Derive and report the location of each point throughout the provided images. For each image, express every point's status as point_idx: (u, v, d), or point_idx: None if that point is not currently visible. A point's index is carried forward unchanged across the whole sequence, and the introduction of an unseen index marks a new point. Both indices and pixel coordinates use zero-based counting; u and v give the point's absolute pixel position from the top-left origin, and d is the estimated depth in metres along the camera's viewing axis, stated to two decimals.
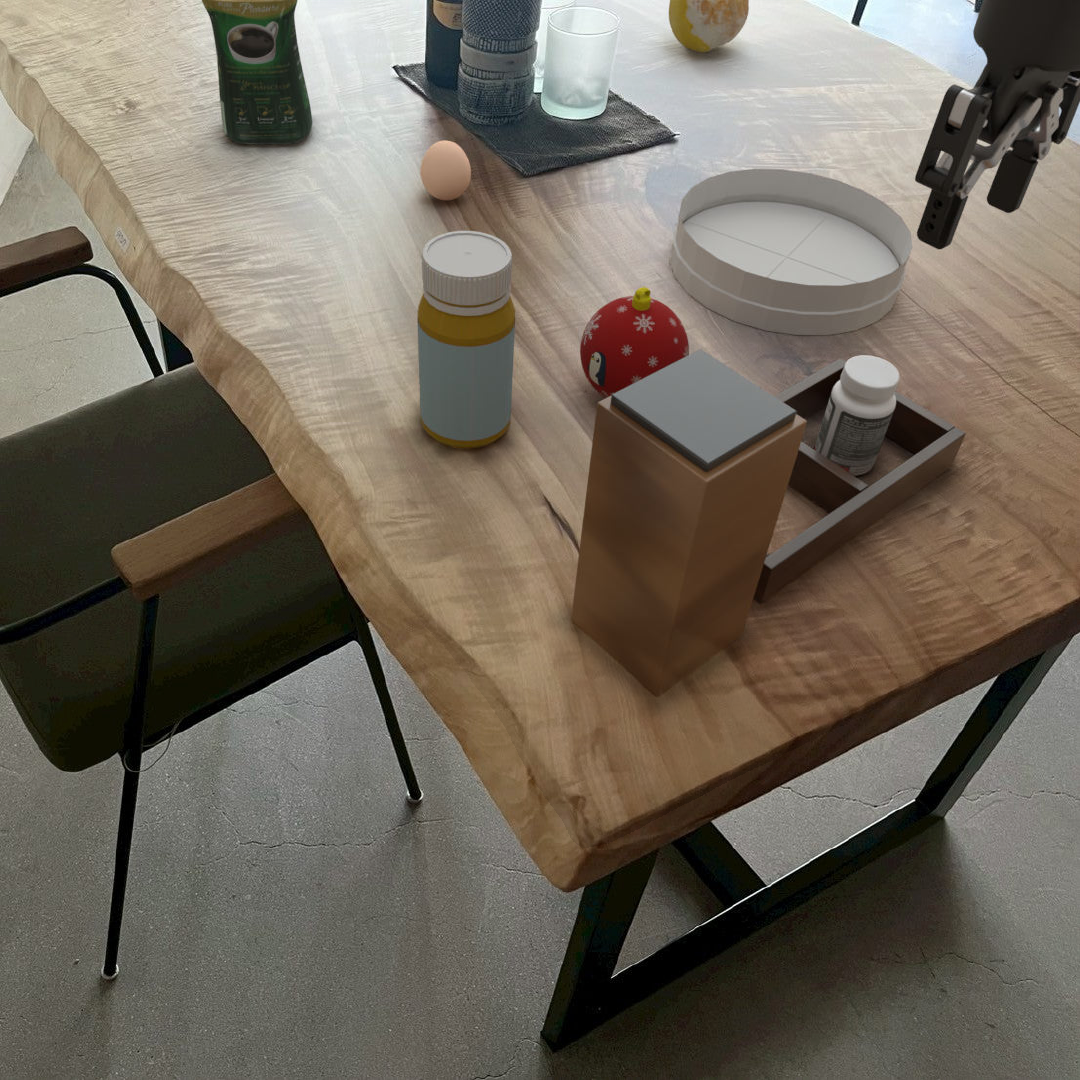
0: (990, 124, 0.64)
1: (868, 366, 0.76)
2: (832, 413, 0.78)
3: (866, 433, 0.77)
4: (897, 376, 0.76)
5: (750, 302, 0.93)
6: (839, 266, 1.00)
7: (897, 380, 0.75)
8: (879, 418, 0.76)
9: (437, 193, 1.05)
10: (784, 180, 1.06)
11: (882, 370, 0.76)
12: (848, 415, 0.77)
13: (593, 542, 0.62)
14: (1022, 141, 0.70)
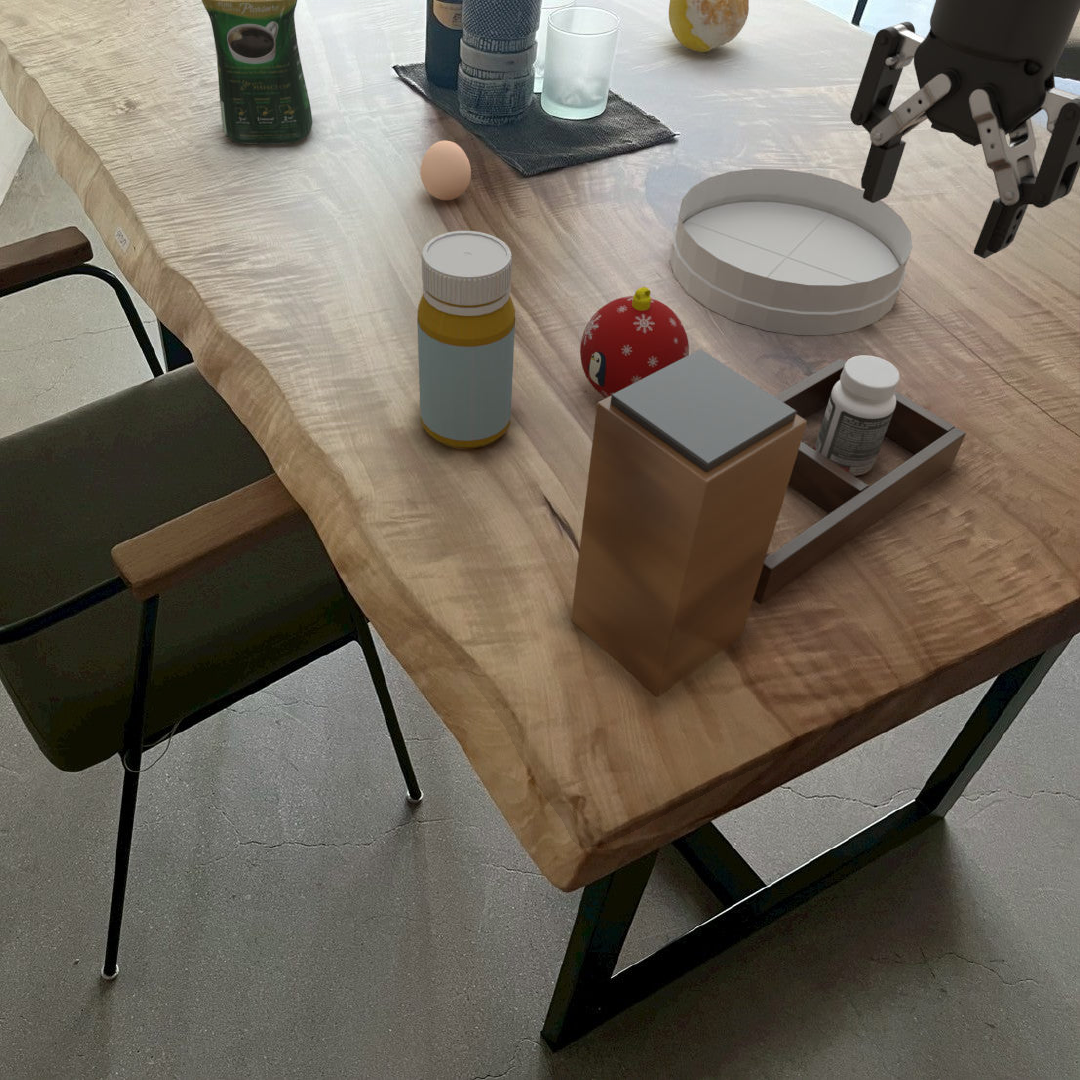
0: None
1: (868, 366, 0.76)
2: (832, 413, 0.78)
3: (866, 433, 0.77)
4: (897, 376, 0.76)
5: (750, 302, 0.93)
6: (839, 266, 1.00)
7: (897, 380, 0.75)
8: (879, 418, 0.76)
9: (437, 193, 1.05)
10: (784, 180, 1.06)
11: (882, 370, 0.76)
12: (848, 415, 0.77)
13: (593, 542, 0.62)
14: None
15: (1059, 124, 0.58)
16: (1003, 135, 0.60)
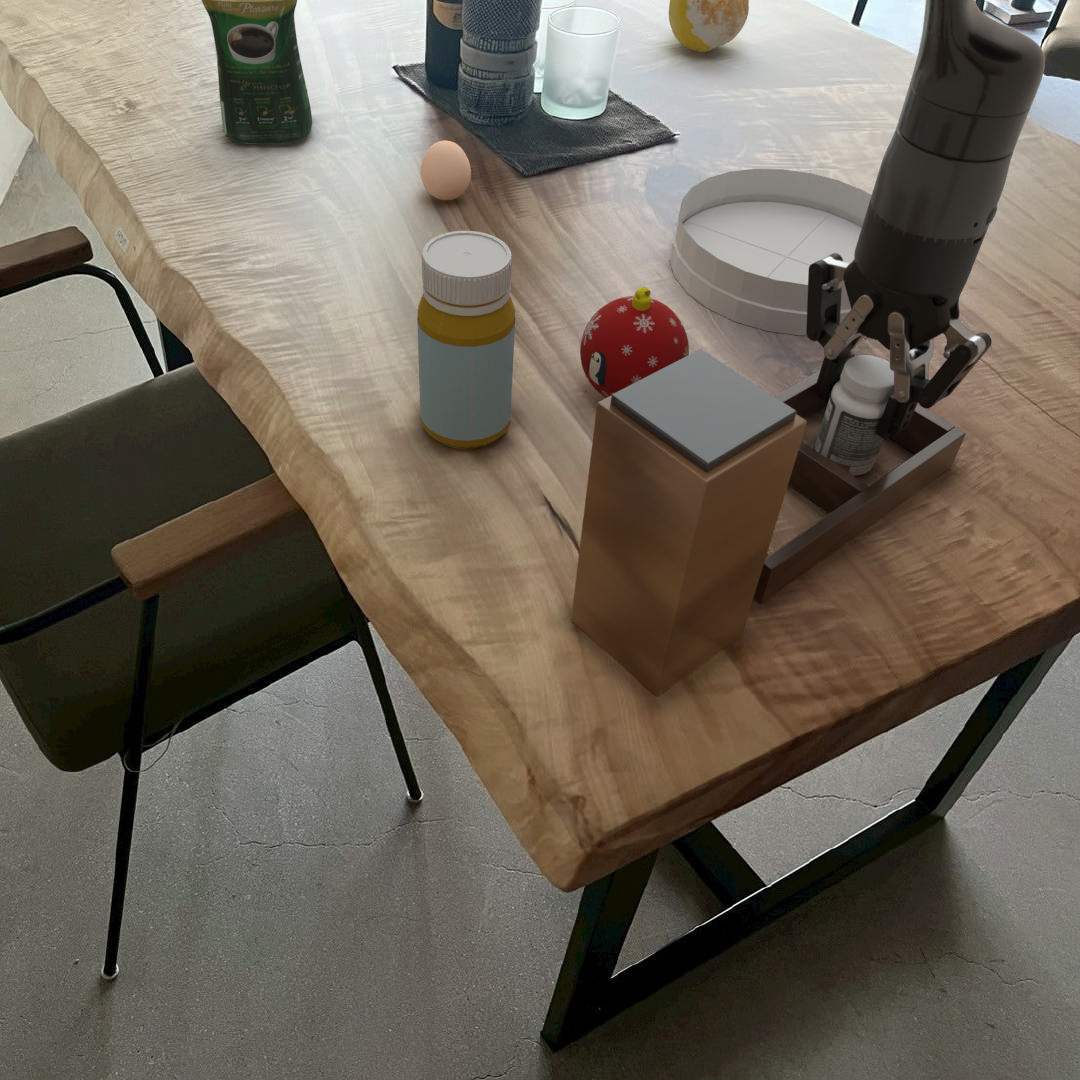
0: None
1: (868, 366, 0.76)
2: (832, 413, 0.78)
3: (866, 433, 0.77)
4: None
5: (750, 302, 0.93)
6: None
7: None
8: (879, 418, 0.76)
9: (437, 193, 1.05)
10: (784, 180, 1.06)
11: (882, 370, 0.76)
12: (848, 415, 0.77)
13: (593, 542, 0.62)
14: None
15: (953, 356, 0.69)
16: (908, 352, 0.71)
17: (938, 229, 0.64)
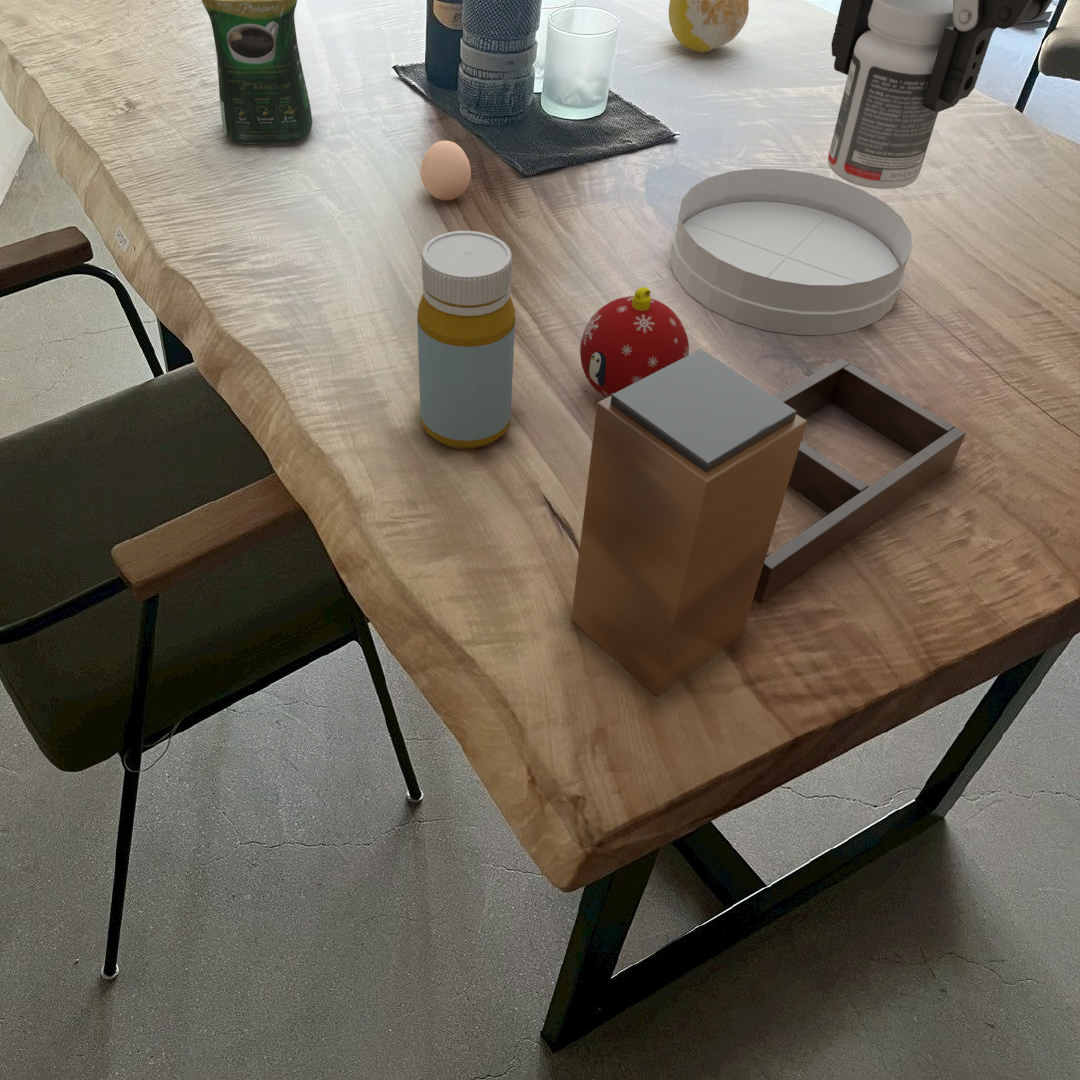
0: None
1: None
2: (855, 78, 0.51)
3: (908, 103, 0.50)
4: None
5: (750, 302, 0.93)
6: (839, 266, 1.00)
7: None
8: (929, 75, 0.49)
9: (437, 193, 1.05)
10: (784, 180, 1.06)
11: None
12: (881, 71, 0.49)
13: (593, 542, 0.62)
14: None
15: None
16: None
17: None
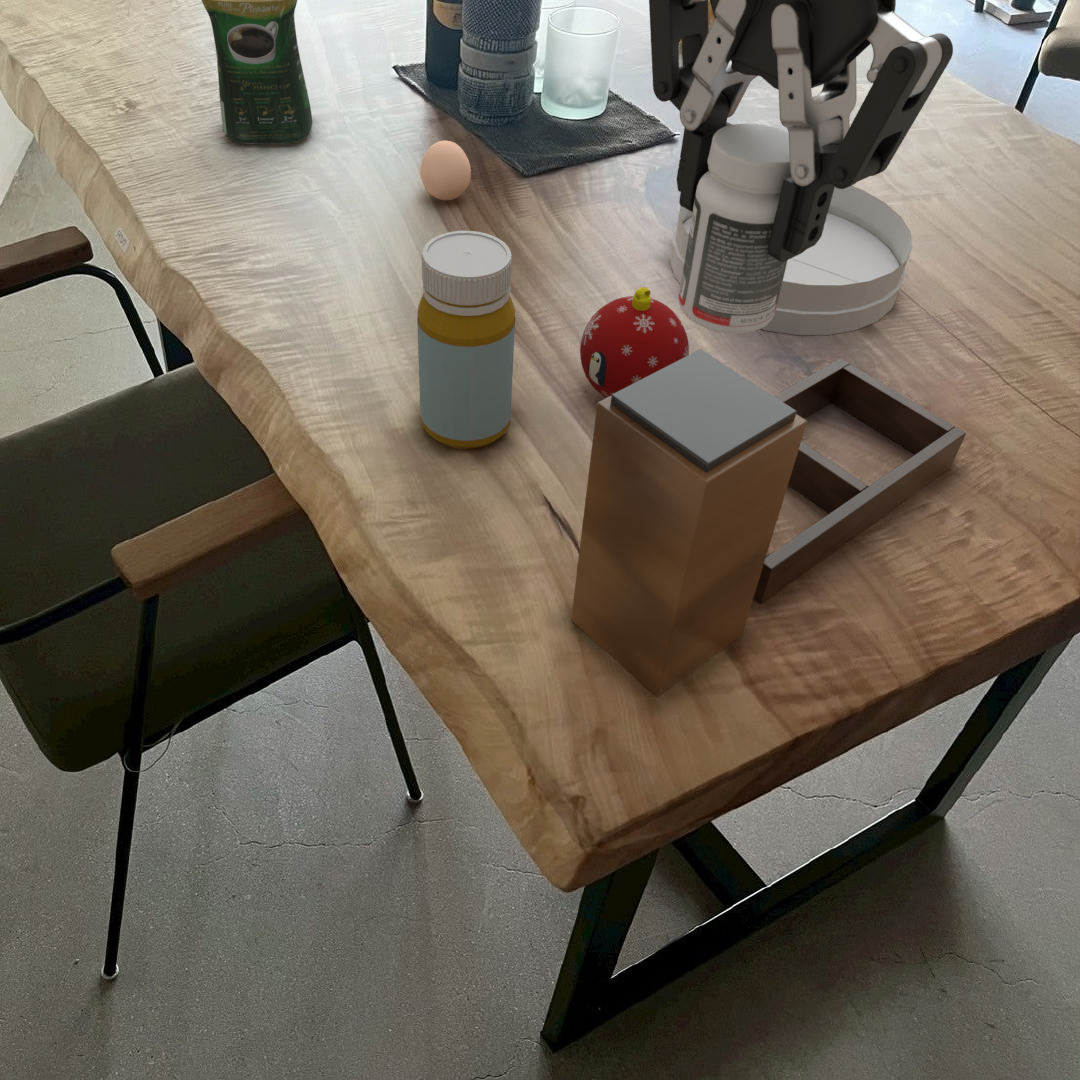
0: None
1: (752, 136, 0.46)
2: (697, 222, 0.47)
3: (751, 251, 0.46)
4: None
5: None
6: (839, 266, 1.00)
7: None
8: (772, 224, 0.46)
9: (437, 193, 1.05)
10: None
11: (776, 142, 0.45)
12: (720, 219, 0.46)
13: (593, 542, 0.62)
14: None
15: (883, 75, 0.38)
16: (808, 83, 0.41)
17: None
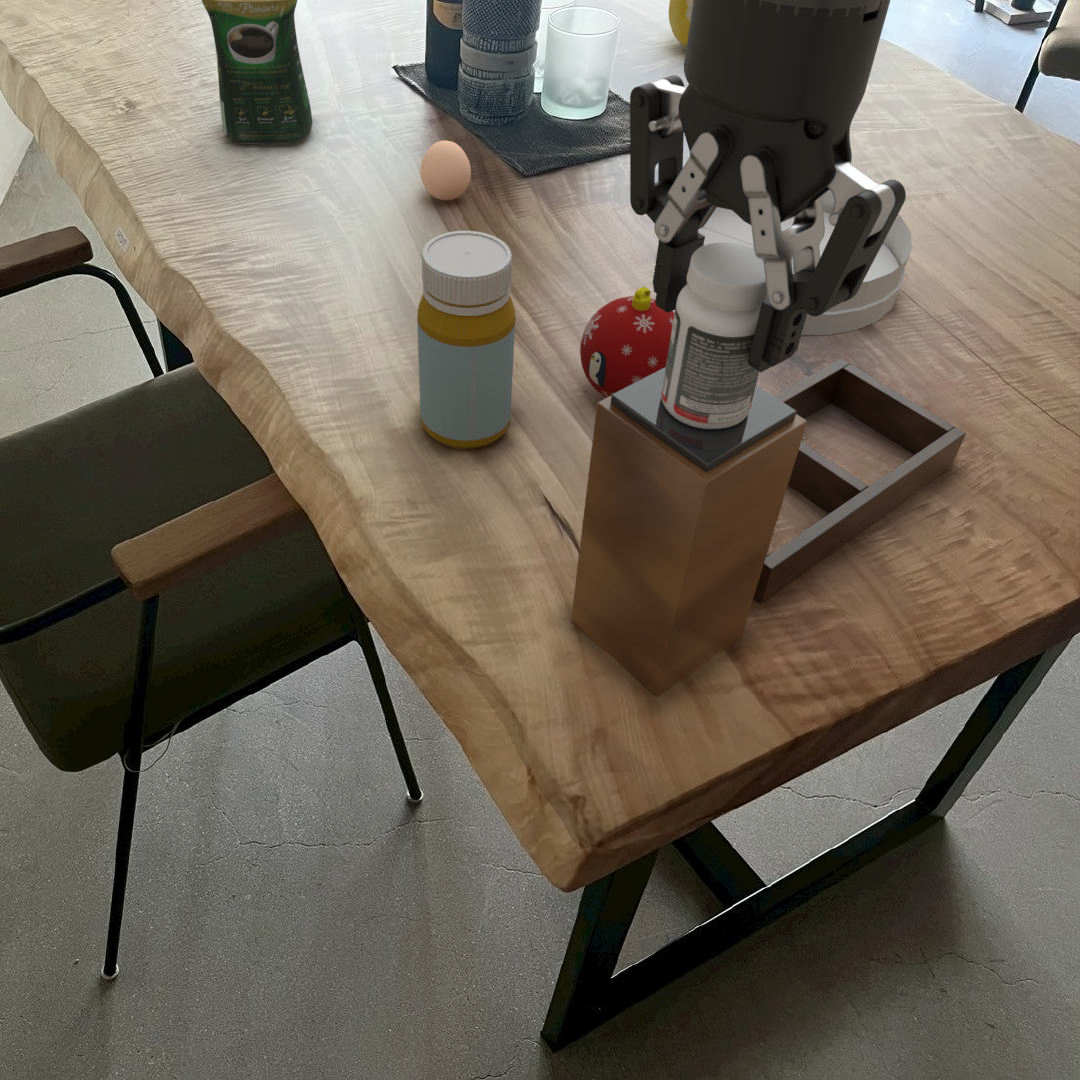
0: None
1: (727, 256, 0.50)
2: (677, 331, 0.51)
3: (727, 360, 0.51)
4: None
5: None
6: None
7: None
8: (745, 337, 0.50)
9: (437, 193, 1.05)
10: None
11: (749, 262, 0.50)
12: (698, 332, 0.50)
13: (593, 542, 0.62)
14: None
15: (843, 220, 0.42)
16: (777, 222, 0.45)
17: None
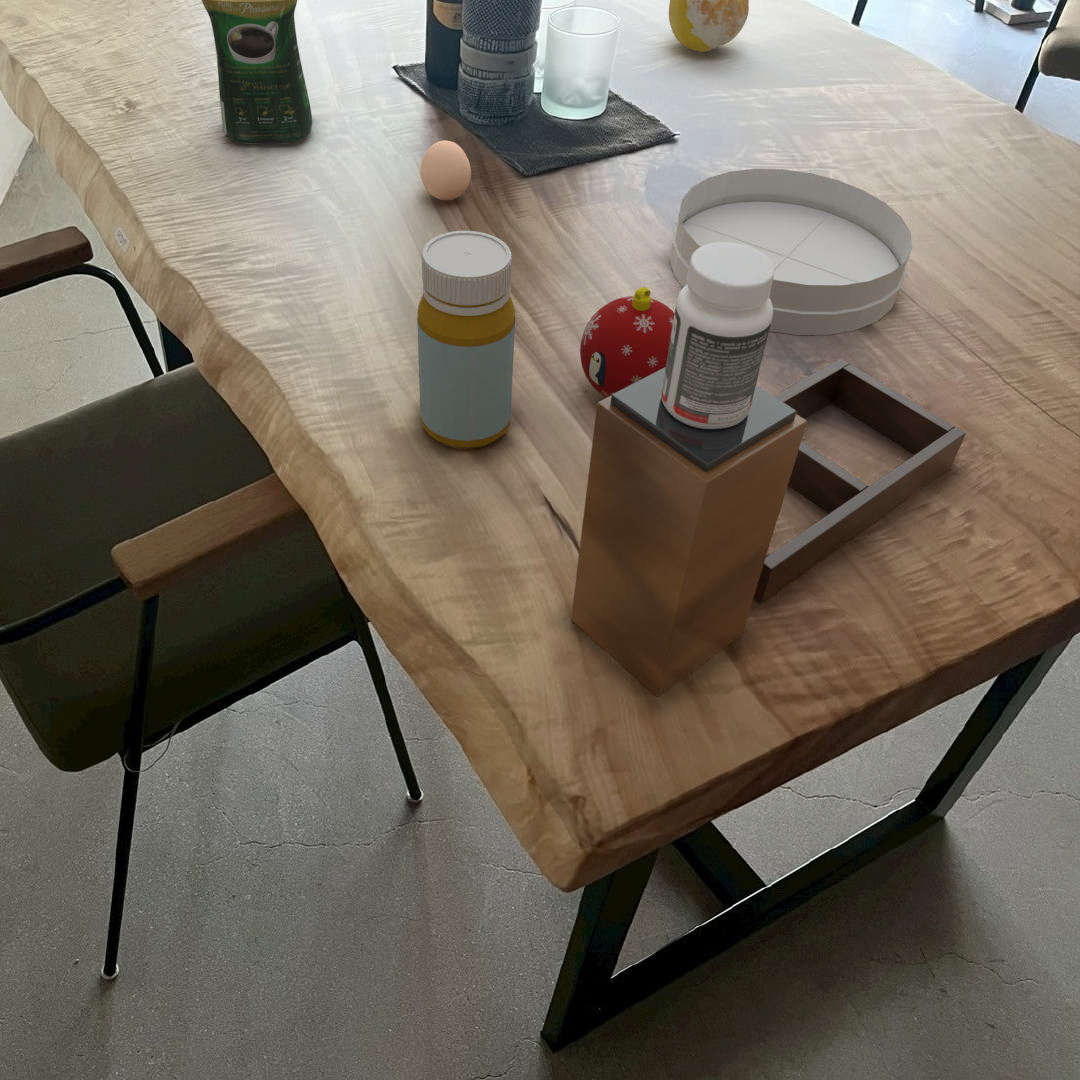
0: None
1: (727, 256, 0.50)
2: (677, 331, 0.51)
3: (727, 360, 0.51)
4: (771, 271, 0.49)
5: None
6: (839, 266, 1.00)
7: (770, 276, 0.49)
8: (745, 337, 0.50)
9: (437, 193, 1.05)
10: (784, 180, 1.06)
11: (749, 262, 0.50)
12: (698, 332, 0.50)
13: (593, 542, 0.62)
14: None
15: None
16: None
17: None
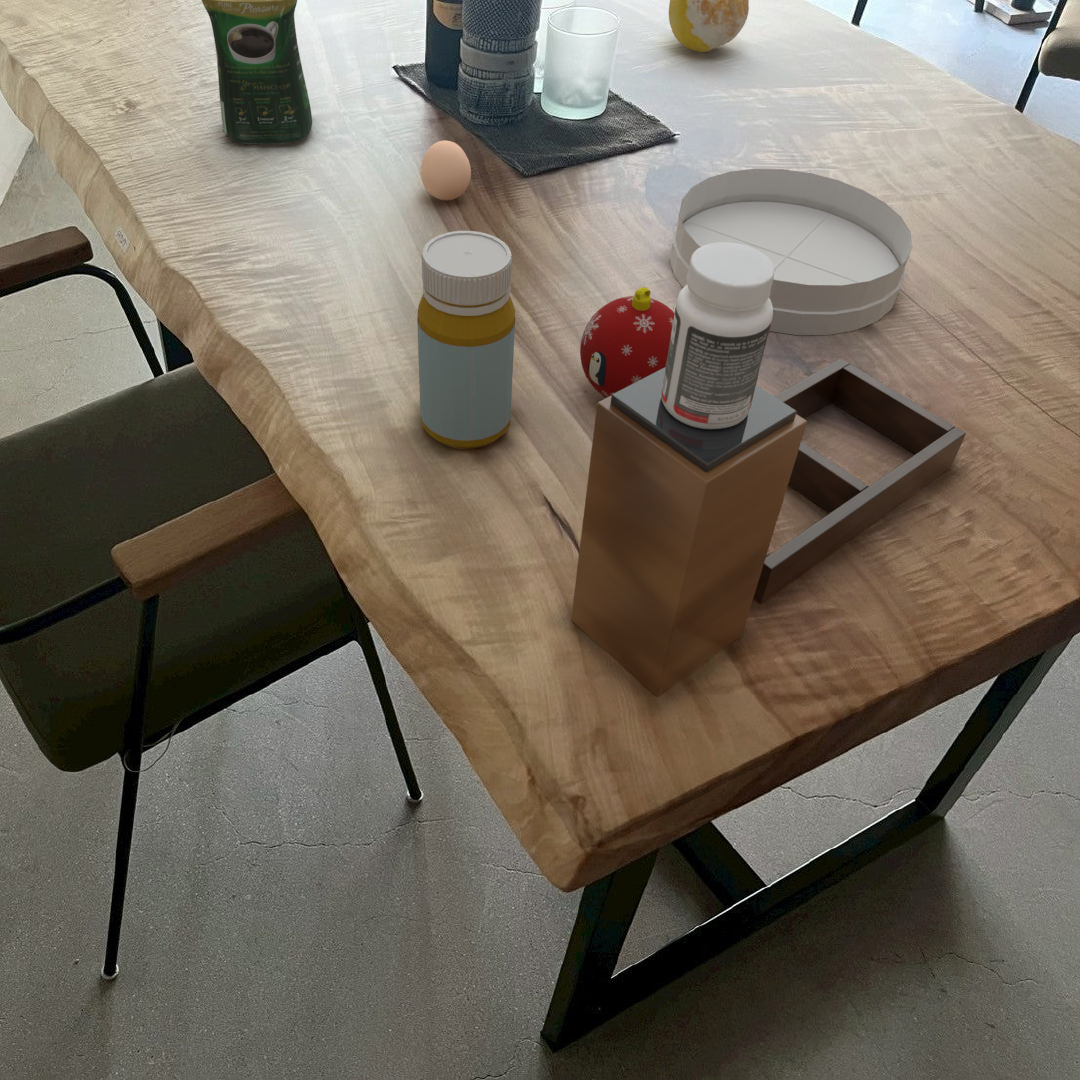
0: None
1: (727, 257, 0.50)
2: (677, 331, 0.51)
3: (727, 360, 0.51)
4: (771, 271, 0.49)
5: None
6: (839, 266, 1.00)
7: (770, 276, 0.49)
8: (745, 337, 0.50)
9: (437, 193, 1.05)
10: (784, 180, 1.06)
11: (749, 262, 0.50)
12: (698, 332, 0.50)
13: (593, 542, 0.62)
14: None
15: None
16: None
17: None
